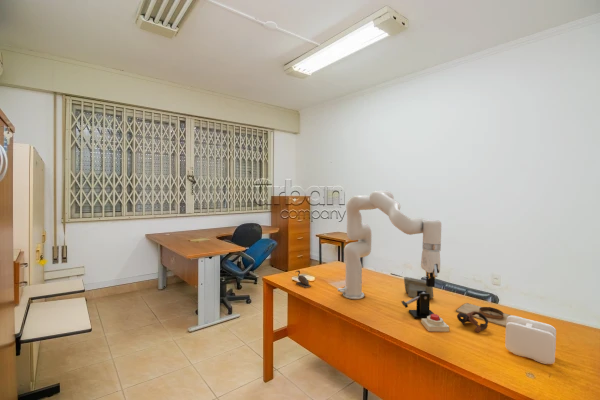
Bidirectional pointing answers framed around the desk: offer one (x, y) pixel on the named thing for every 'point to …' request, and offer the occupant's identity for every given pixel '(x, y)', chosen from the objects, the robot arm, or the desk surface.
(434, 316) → the button
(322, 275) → the desk surface
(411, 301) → the lever
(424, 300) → the bracket
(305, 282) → the figurine
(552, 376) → the desk surface
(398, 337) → the desk surface
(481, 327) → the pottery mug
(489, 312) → the board
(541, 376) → the desk surface
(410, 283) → the digital clock
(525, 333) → the cable organizer
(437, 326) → the control block
